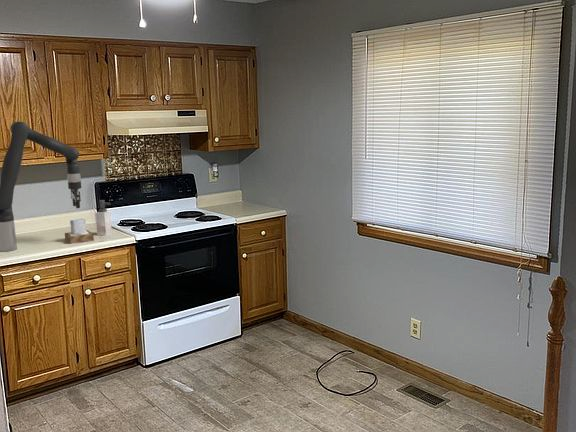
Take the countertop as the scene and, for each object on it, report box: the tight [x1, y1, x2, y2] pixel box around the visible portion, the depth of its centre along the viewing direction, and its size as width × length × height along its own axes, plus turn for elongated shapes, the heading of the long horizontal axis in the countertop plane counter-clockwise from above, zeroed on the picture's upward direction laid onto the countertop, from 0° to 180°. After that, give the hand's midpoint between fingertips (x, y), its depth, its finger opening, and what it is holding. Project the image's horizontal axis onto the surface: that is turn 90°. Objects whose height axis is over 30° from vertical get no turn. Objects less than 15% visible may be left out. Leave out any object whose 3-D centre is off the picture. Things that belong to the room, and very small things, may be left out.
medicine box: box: [69, 217, 87, 235], centre depth 355 cm, size 8×4×9 cm, turn 136°
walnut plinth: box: [64, 229, 95, 245], centre depth 357 cm, size 14×14×4 cm
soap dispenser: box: [95, 199, 113, 236], centre depth 369 cm, size 6×9×22 cm
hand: (76, 207), depth 353 cm, fingers open, 8 cm apart
